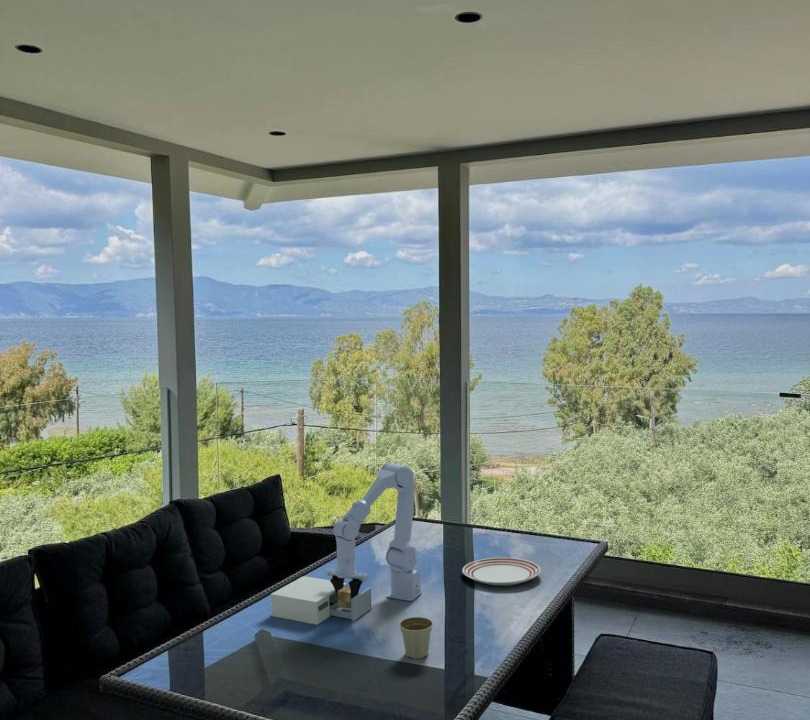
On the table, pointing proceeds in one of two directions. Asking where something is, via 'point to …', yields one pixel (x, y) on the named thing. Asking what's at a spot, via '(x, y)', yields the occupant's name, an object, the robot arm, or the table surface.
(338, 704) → the table surface
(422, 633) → the flower pot
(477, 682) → the table surface
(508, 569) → the dinner plate
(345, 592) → the oak block
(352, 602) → the sliding drawer
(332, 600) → the player box
